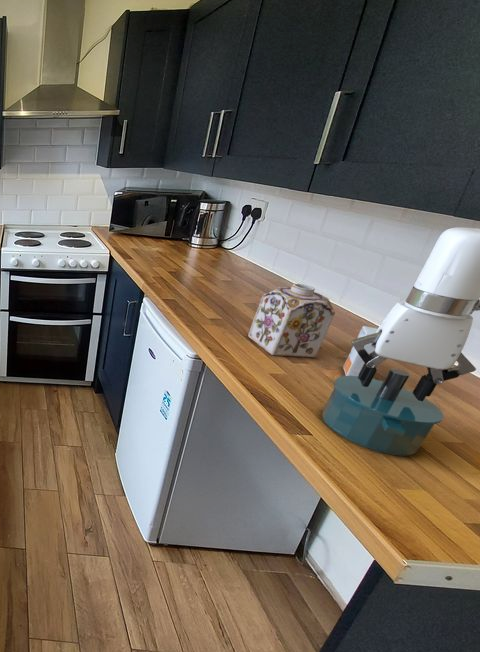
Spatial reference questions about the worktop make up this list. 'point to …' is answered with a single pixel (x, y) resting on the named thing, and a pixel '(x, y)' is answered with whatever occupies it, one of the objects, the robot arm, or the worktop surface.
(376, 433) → the pot
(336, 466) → the worktop surface
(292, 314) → the decorative jar
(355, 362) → the cosmetic box
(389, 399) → the lid
